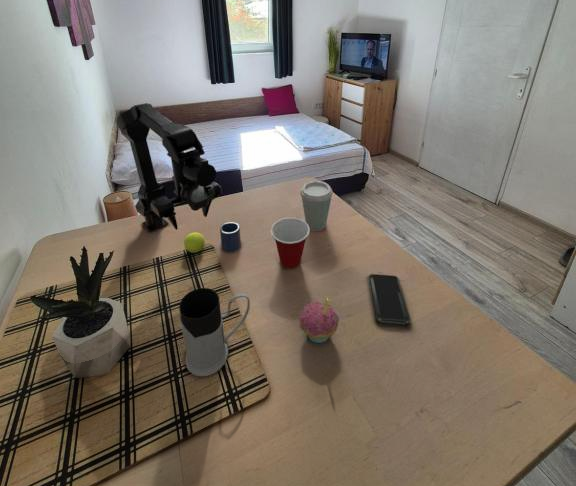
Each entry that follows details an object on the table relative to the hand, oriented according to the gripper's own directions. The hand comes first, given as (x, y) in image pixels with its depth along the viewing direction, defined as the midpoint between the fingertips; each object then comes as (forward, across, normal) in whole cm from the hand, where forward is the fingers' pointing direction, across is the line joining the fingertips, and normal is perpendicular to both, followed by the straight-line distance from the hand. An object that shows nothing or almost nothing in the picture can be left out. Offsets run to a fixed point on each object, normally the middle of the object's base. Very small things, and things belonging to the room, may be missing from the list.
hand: (191, 222), depth 93 cm
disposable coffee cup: (+11, +37, -16) cm, 42 cm away
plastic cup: (+11, +18, -23) cm, 31 cm away
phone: (+11, +26, -50) cm, 57 cm away
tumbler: (+11, +10, -5) cm, 16 cm away
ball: (+8, +1, +1) cm, 8 cm away
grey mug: (+11, -12, -32) cm, 36 cm away
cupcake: (+11, +6, -44) cm, 46 cm away
